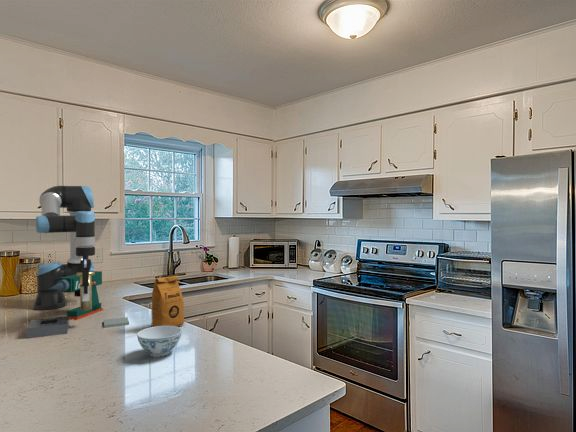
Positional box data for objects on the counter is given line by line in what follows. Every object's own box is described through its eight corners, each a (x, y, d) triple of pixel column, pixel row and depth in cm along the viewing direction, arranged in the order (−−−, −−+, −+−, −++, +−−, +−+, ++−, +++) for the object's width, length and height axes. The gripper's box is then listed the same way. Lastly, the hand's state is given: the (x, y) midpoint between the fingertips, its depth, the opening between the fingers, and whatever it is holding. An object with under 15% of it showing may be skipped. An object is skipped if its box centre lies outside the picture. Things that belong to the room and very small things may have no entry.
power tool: (55, 328, 172) (55, 282, 171) (41, 327, 173) (41, 281, 173) (104, 310, 203) (103, 271, 203) (91, 309, 204) (91, 270, 204)
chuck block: (31, 329, 170) (31, 319, 170) (69, 324, 176) (69, 315, 176) (26, 338, 157) (26, 328, 157) (67, 333, 164) (67, 323, 164)
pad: (103, 322, 180) (103, 319, 180) (127, 319, 185) (127, 317, 185) (104, 327, 172) (104, 325, 172) (129, 324, 176) (129, 322, 176)
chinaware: (140, 364, 129) (140, 341, 129) (134, 350, 143) (134, 329, 143) (186, 356, 136) (186, 334, 136) (177, 343, 150) (176, 323, 149)
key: (77, 309, 174) (76, 272, 173) (95, 307, 177) (94, 270, 176) (76, 311, 170) (76, 273, 169) (95, 309, 173) (94, 272, 172)
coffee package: (187, 326, 172) (186, 276, 172) (160, 332, 164) (159, 279, 164) (175, 322, 180) (175, 273, 179) (149, 327, 171) (148, 277, 171)
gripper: (76, 245, 179) (77, 296, 179) (74, 248, 163) (75, 305, 164) (95, 244, 182) (95, 294, 183) (94, 248, 166) (95, 303, 167)
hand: (86, 299), depth 173 cm, fingers closed on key, 4 cm apart
